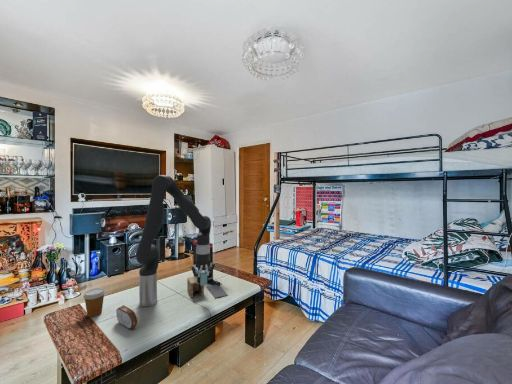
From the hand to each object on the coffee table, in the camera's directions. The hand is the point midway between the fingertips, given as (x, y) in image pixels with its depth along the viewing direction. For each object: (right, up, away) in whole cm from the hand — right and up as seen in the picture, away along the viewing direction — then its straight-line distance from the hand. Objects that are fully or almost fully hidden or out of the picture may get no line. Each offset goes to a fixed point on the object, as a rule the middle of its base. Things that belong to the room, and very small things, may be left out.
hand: (202, 282), depth 134 cm
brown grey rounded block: (-33, -14, -19) cm, 40 cm away
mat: (+5, -13, +19) cm, 24 cm away
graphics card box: (-9, -13, +41) cm, 44 cm away
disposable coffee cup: (-56, -14, -8) cm, 58 cm away
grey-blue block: (-2, 0, +4) cm, 4 cm away
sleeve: (-8, -13, +16) cm, 22 cm away
